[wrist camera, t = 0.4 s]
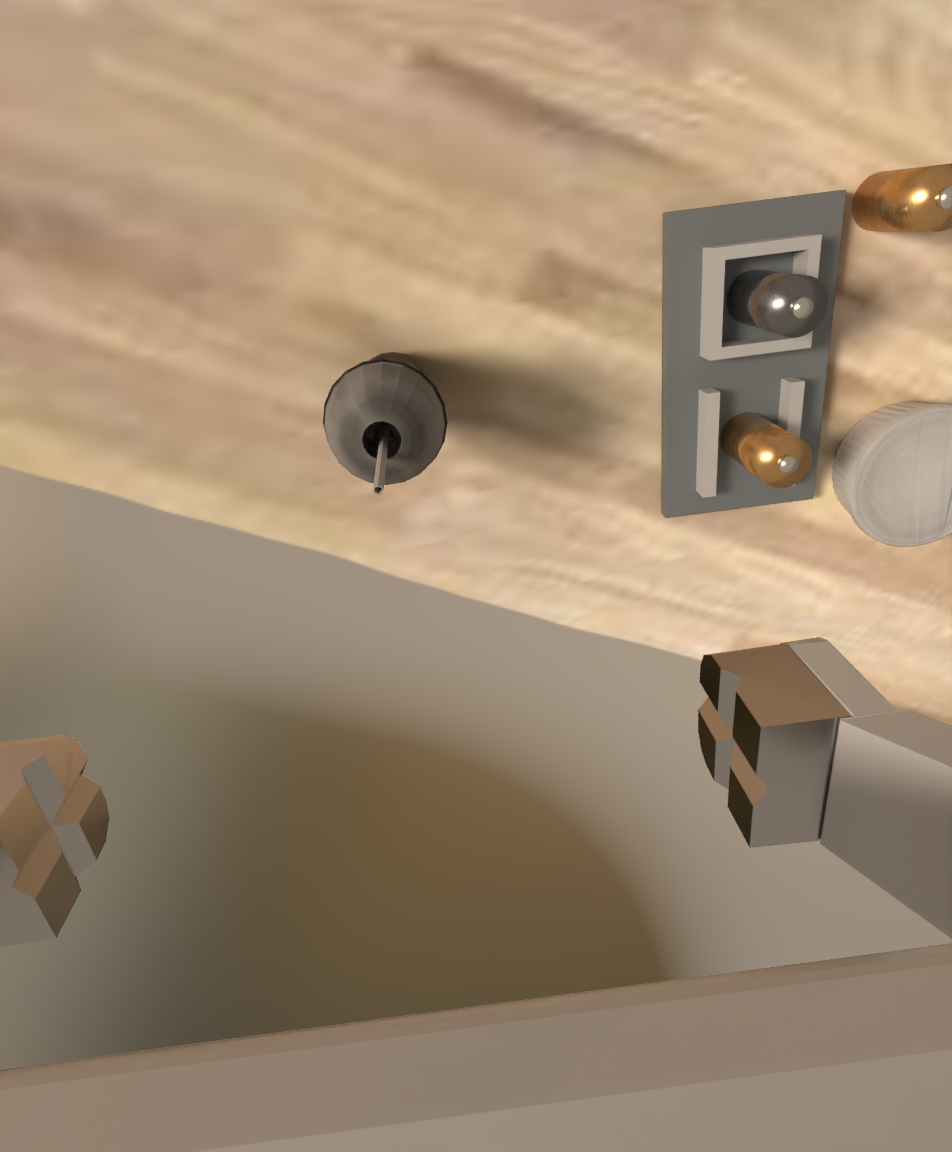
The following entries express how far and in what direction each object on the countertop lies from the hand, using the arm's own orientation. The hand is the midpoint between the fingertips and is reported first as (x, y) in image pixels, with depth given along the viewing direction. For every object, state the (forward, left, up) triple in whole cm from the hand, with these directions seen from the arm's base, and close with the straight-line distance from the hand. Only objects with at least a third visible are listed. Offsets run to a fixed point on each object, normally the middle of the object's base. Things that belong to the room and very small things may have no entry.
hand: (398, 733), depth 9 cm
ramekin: (+15, +36, -46) cm, 60 cm away
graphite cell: (+1, +23, -44) cm, 50 cm away
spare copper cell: (+11, +23, -44) cm, 51 cm away
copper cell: (-4, +32, -46) cm, 56 cm away
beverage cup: (+4, -3, -46) cm, 46 cm away
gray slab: (+6, +23, -46) cm, 52 cm away
